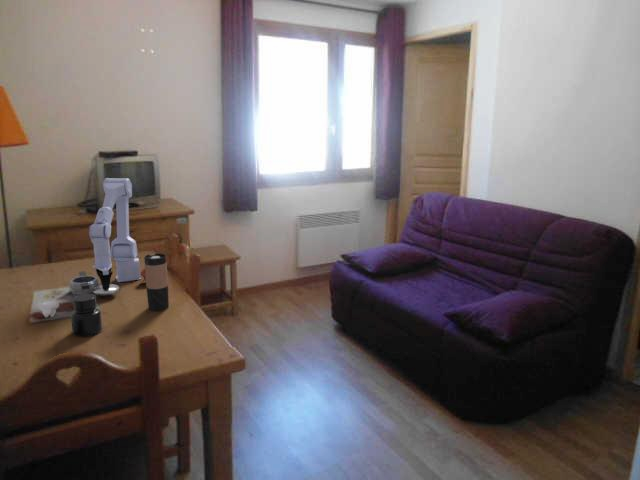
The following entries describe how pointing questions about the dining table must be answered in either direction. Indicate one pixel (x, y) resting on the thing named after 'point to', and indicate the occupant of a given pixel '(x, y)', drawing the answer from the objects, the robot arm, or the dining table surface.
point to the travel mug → (156, 282)
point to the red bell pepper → (143, 275)
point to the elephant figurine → (48, 308)
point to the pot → (83, 284)
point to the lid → (105, 290)
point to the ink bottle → (85, 316)
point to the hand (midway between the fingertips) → (105, 287)
